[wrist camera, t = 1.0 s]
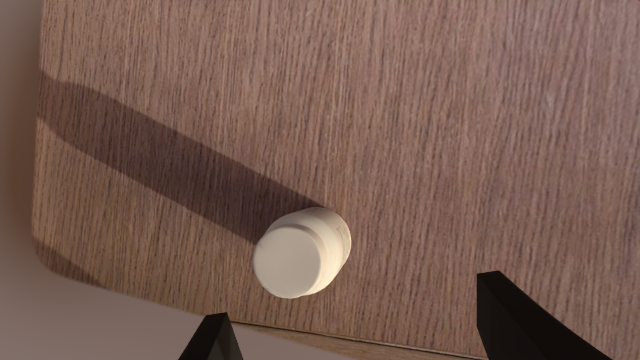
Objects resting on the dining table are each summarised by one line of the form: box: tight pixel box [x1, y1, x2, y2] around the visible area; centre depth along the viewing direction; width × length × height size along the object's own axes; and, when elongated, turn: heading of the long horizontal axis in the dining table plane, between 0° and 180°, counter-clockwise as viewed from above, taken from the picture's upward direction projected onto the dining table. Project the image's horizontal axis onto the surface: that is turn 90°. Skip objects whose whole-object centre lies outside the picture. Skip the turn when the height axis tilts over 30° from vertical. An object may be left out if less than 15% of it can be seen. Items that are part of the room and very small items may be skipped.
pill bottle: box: [253, 207, 351, 298], centre depth 25 cm, size 4×4×8 cm
